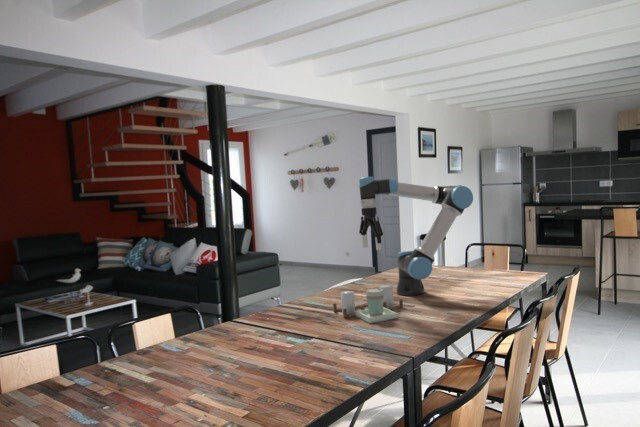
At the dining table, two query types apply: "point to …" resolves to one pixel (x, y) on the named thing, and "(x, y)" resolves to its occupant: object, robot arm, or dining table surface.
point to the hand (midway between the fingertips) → (372, 248)
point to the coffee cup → (375, 301)
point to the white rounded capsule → (348, 302)
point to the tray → (366, 316)
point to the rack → (363, 308)
